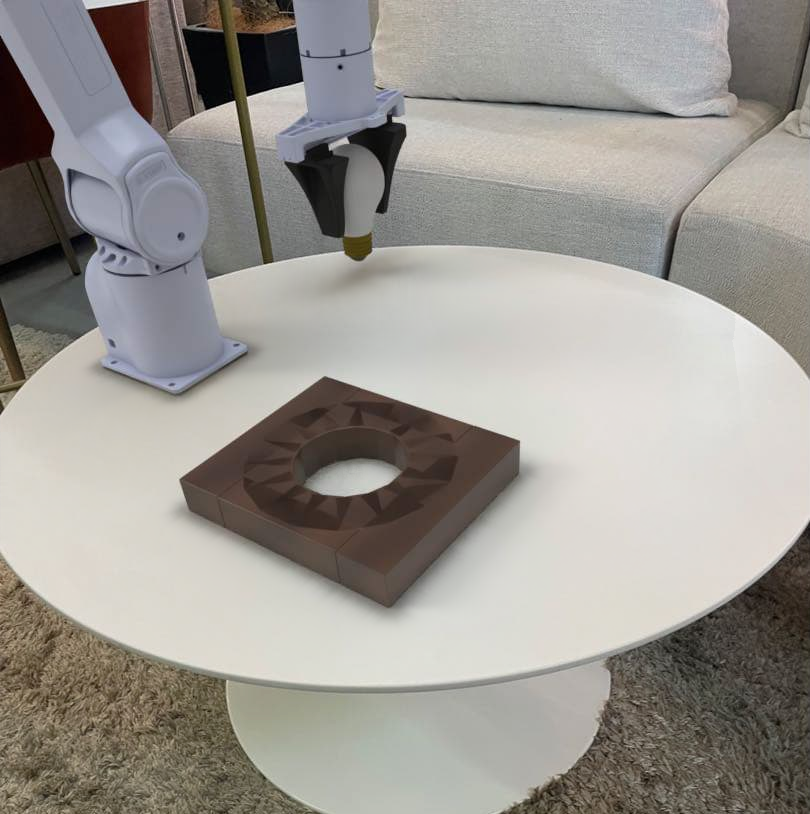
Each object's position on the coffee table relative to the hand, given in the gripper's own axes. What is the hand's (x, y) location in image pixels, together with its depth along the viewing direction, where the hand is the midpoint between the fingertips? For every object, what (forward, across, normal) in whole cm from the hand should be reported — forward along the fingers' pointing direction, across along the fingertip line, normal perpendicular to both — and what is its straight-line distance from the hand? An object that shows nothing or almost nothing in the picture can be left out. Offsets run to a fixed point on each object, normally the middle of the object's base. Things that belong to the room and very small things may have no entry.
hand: (355, 223), depth 73 cm
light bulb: (+4, 0, 0) cm, 4 cm away
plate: (+5, -26, -20) cm, 33 cm away
